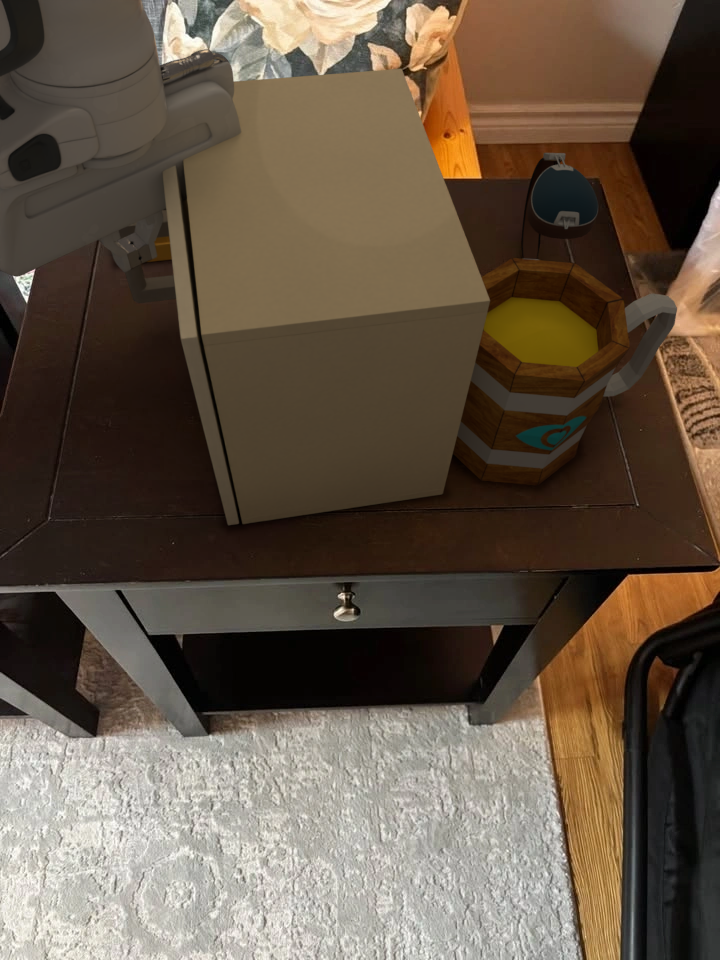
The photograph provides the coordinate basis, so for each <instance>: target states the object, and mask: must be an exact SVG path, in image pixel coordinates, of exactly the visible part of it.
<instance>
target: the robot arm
mask: <svg viewBox="0 0 720 960" xmlns="http://www.w3.org/2000/svg"><path fill="white" fill-rule="evenodd" d="M234 81H235V80H234V72H233V68H232V64H231V63H230V61H229V59H227V57H226V56H225V55H223V54H222V53H218V52H213V51H212V50H211V49H209V48H206V49H200V50H197V51H194V52H192V53H191V54H190V55H188V56H186V57H183V58H179V59H173V60H171V61H167V62H165V63H162V64H160V58H159V51H158V48H157V41H156V35H155V31H154V28H153V25H152V24H151V21H150V19H149V17H148V14H147V13H146V10H145V7H144V4H143V0H0V272H1V273H4V274H6V275H9V276H12V277H15V278H17V277H18V278H19V277H22V276H24V275H26V274H27V273H30V272H32V271H35V270H37V269H39V268H41V267H44V266H45V265H48V264H50V263H52V262H54V261H56V260H58V259H61V258H62V257H65V256H68V254H71V253H73V252H76V251H77V250H79V249H82V248H85V247H87V246H88V245H91V244H93V243H95V242H97V241H98V242H99V243H100V244H101V245H102V246H103V247H104V248H106V249H107V250H109V251H110V252H111V255H112V258H113V261H114V263H115V264H116V266H118V268H119V269H120V270H121V271H122V272H123V273H125V272H127V271H129V270H131V269H133V268H135V267H137V266H139V265H141V266H142V265H143V264H145V263H149V262H148V261H150V260H152V259H154V258H156V257H157V252H156V248H155V243H154V241H156V238H157V235H158V233H159V230H160V227H161V225H162V222H163V219H164V218H163V213H162V210H164V209H166V202H165V193H164V184H163V175H162V172H163V171H164V170H166V169H169V168H171V167H173V166H176V169H177V174H178V179H179V184H180V189H181V194H182V199H183V201H184V200H186V199H187V193H186V184H185V174H184V165H183V160H184V159H186V158H188V157H190V156H192V155H195V154H197V153H199V152H201V151H203V150H206V149H208V148H210V147H212V146H214V145H216V144H219V143H221V142H223V141H225V140H228V139H230V138H233V137H235V136H237V135H238V134H240V133H241V127H240V123H239V119H238V115H237V111H236V108H235V105H234V102H233V100H232V99H233V96H234ZM136 222H137V223H136ZM134 223H136V227H135V232H134V233H132V234H130V235H128V236H126V237H124V238H122V239H120V238H121V237H120V233H119V230H121V229H123V228H125V227H127V226H129V225H132V224H134ZM119 239H120V240H119Z"/></svg>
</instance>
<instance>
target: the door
mask: <svg viewBox="0 0 720 960" xmlns="http://www.w3.org/2000/svg"><path fill="white" fill-rule="evenodd" d="M162 175H163V184H164V193H165V202H166V210H162V213H163V218H164V219H163V222H162V225H161V227H160V230H159V233H158V235H157V238H159V237H167V236H169V239H170V248H171V257H172V260H171V265H172V274H171V275H163V276H162V275H161V276H155V277H145V273H144V270H143V266H142V264H141V265H139V266H137V267H135V268H133V269H131V270H129V271H127V272H124V275H125V279H126V282H127V284H128V287H129V291H130V293H131V297H132V300H133V302H134V303H137V304H148V303H154V302H163V301H170V300H175V301H176V302H175V303H176V311H177V318H178V329H179V337H180V338H179V339H180V342H181V346H182V349H183V355H184V358H185V362H186V367H187V369H188V374H189V378H190V382H191V385H192V389H193V394H194V397H195V401H196V405H197V409H198V413H199V418H200V422H201V425H202V430H203V433H204V437H205V440H206V445H207V450H208V453H209V456H210V461H211V464H212V468H213V473H214V477H215V481H216V485H217V488H218V492H219V496H220V500H221V504H222V508H223V512H224V516H225V520H226V524H227V526H235V525H239V524H240V518H239V512H238V511H239V510H238V503H237V497H236V492H235V488H234V483H233V478H232V474H231V469H230V464H229V460H228V455H227V451H226V446H225V441H224V437H223V432H222V428H221V423H220V418H219V414H218V409H217V405H216V400H215V395H214V391H213V386H212V382H211V377H210V372H209V368H208V363H207V359H206V354H205V349H204V344H203V340H202V335H201V327H200V317H199V308H198V298H197V289H196V279H195V270H194V260H193V251H192V241H191V232H190V222H189V213H188V203H187V199H186V200H184V201H183V199H182V194H181V189H180V184H179V179H178V174H177V169H176V166H173V167H171V168H169V169H166V170H164V171H163V172H162ZM136 223H137V222H136ZM136 223H134V224H132V225H129V226H127V227H125V228H123V229H121V230H119V233H120V237H121V238H120V239H122V238H124V237H126V236H128V235H130V234H132V233H134V232H135V227H136ZM120 239H119V240H120Z"/></svg>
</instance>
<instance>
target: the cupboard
mask: <svg viewBox="0 0 720 960" xmlns="http://www.w3.org/2000/svg"><path fill="white" fill-rule="evenodd" d="M232 100H233V102H234V105H235V108H236V111H237V115H238V119H239V123H240V127H241V133H240V134H238V135H237V136H235V137H233V138H230V139H228V140H225V141H223V142H221V143H219V144H216V145H214V146H212V147H210V148H208V149H206V150H203V151H201V152H199V153H197V154H195V155H192V156H190V157H188V158H186V159H184V160H183V165H184V174H185V184H186V193H187V203H188V213H189V222H190V232H191V241H192V251H193V260H194V270H195V279H196V289H197V298H198V308H199V317H200V327H201V335H202V340H203V344H204V349H205V354H206V359H207V363H208V368H209V372H210V377H211V382H212V386H213V391H214V395H215V400H216V405H217V409H218V414H219V418H220V423H221V428H222V432H223V437H224V441H225V446H226V451H227V455H228V460H229V464H230V469H231V474H232V478H233V483H234V489H235V497H236V502H237V507H238V509H239V510H238V511H239V514H240V519H241V520H240V521H241V524H242V525H247V524H253V523H259V522H260V523H261V522H267V521H274V520H279V519H286V518H294V517H300V516H306V515H307V516H308V515H314V514H320V513H328V512H332V511H340V510H347V509H353V508H360V507H361V508H362V507H367V506H374V505H379V504H388V503H394V502H400V501H407V500H414V499H421V498H428V497H434V496H440V495H443V494H444V491H445V487H446V482H447V478H448V474H449V470H450V466H451V462H452V458H453V455H454V454H453V450H454V446H455V442H456V438H457V434H458V430H459V426H460V422H461V418H462V414H463V409H464V405H465V401H466V397H467V393H468V389H469V385H470V381H471V377H472V373H473V369H474V365H475V361H476V357H477V352H478V348H479V344H480V340H481V336H482V332H483V328H484V324H485V320H486V316H487V311H488V307H489V303H490V299H489V296H488V294H487V291H486V288H485V286H484V283H483V280H482V278H481V277H482V275H481V273H480V270H479V267H478V265H477V262H476V260H475V257H474V254H473V251H472V249H471V247H470V244H469V241H468V238H467V236H466V233H465V231H464V228H463V226H462V223H461V220H460V219H459V218H460V217H459V215H458V213H457V210H456V207H455V205H454V202H453V199H452V197H451V194H450V192H449V189H448V186H447V184H446V181H445V178H444V176H443V173H442V171H441V168H440V165H439V162H438V160H437V158H436V155H435V153H434V149H433V147H432V145H431V142H430V140H429V137H428V134H427V131H426V129H425V126H424V124H423V120H422V118H421V115H420V113H419V110H418V108H417V105H416V103H415V99H414V97H413V95H412V92H411V90H410V86H409V84H408V81H407V79H406V76H405V73H404V71H403V68H393V69H379V70H378V69H377V70H369V71H368V70H367V71H355V72H354V71H353V72H341V73H329V74H328V73H327V74H315V75H312V74H311V75H299V76H288V77H275V78H262V79H250V80H237V81H235V80H234V96H233V99H232Z"/></svg>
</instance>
